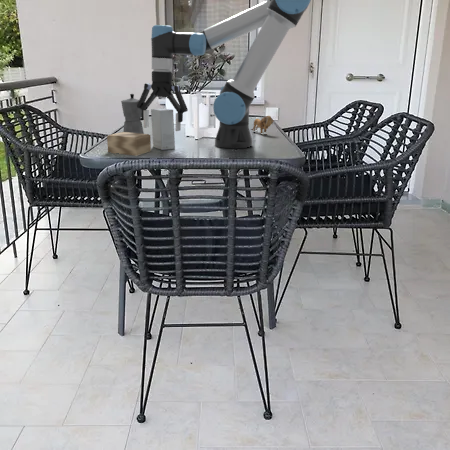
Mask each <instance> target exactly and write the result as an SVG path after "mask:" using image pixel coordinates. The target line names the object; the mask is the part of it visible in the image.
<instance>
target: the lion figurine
mask: <svg viewBox="0 0 450 450" xmlns="http://www.w3.org/2000/svg"><path fill="white" fill-rule="evenodd" d="M274 121H275V120H273V118H272V116H271V115H267V116H264V117H262V118H261V119H260V118H255V119H254V121H253V128H251V129H250V130H252V131H255V130H257V131H258V129H260V134H261V133H263V134H264V132H266V133H267V129H269V127H271V125H273V124H274Z"/></svg>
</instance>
